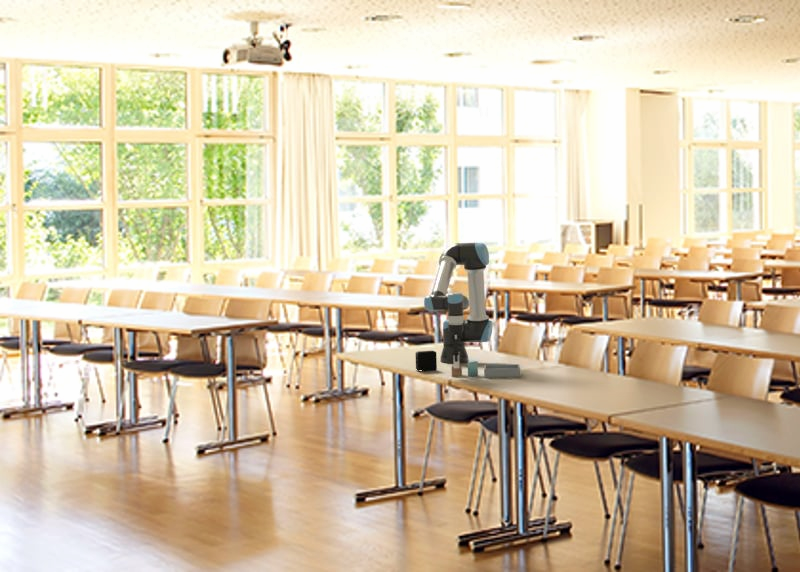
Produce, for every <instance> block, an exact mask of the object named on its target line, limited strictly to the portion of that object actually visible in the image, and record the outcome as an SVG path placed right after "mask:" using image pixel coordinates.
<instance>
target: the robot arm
mask: <svg viewBox="0 0 800 572" xmlns="http://www.w3.org/2000/svg"><path fill="white" fill-rule="evenodd" d="M489 264H490V255H489V249H488V247H487V245H486V244H485V243H481V242H462V243H461V242H457V243H454V244H451V245H450V246H448V247H447V248H446V249H444V251H443V252H442V253H441V255H440V257H439V260H438V266H439V267H438V269H437V274H436V277H435V279H434V284H433V286H432V289H431V293H430V294H429V295H426V296H424V300H423V303H424V304H423V305H424V309H425V310H427V311H433V312H434V311H447V316H448V317H446V320H445V319H444V321H443V323H442V337H443V338H442V340H443V343H442V344H443V347H442V351H441V355H440V358H439V359H440V362H441V363H447V364H453V365H454V368H459V365H460V363H468V361H469V355H468V352H467V349H466V343H488V342H490V340H491V339H492V338H491V337H492V334H493V326H494V325H493V324H494V323H493V321H492V320H491V319H489V317H490V316H489V315H487V314H486V312H487V311H486V295H485V294H486V293H485V277H484V276H485V274H484V273H485V272H484V271H485V270H486V268H487V266H488V265H489ZM457 266H463V269H464V270H465V271H466V273H467V288H468V289H467V290H468V297H467V296H466V295H463V293H461V292H450V293H448V295H447V292H448V289H449V287H450V282H451V280H452V279H451V278H452V275H453V272H454V270H455V269H456V268H457ZM468 307H469V310H468V311H469V315H468V316H467V317H466V319H467V320H465V318H464V311H465V310H466V309H467V308H468Z"/></svg>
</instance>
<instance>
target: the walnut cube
mask: <svg viewBox="0 0 800 572" xmlns="http://www.w3.org/2000/svg"><path fill="white" fill-rule="evenodd" d="M462 376H463V365H461V364H459V368H454V364H452V365H451V377H453V378H454V377H455V378H456V377H462Z"/></svg>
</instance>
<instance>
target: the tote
mask: <svg viewBox="0 0 800 572" xmlns="http://www.w3.org/2000/svg"><path fill="white" fill-rule="evenodd" d="M483 365H484V367H483V369H484V370H483V372H484V375H483V376H484V377H483V378H484V379H498V378H497V377H500V379H502V378H505V377H514V378H517V379H518V378H521V365H520V364H518V363H517V364H515V363H514V364H513V363H511V364H509V363H508V364H507V363H506V364H483ZM505 379H506V378H505Z"/></svg>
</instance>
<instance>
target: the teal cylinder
mask: <svg viewBox="0 0 800 572" xmlns="http://www.w3.org/2000/svg"><path fill="white" fill-rule="evenodd" d="M478 362H479V361H477V360H468V361H467V376H468V377H478V376H479V364H478Z"/></svg>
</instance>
